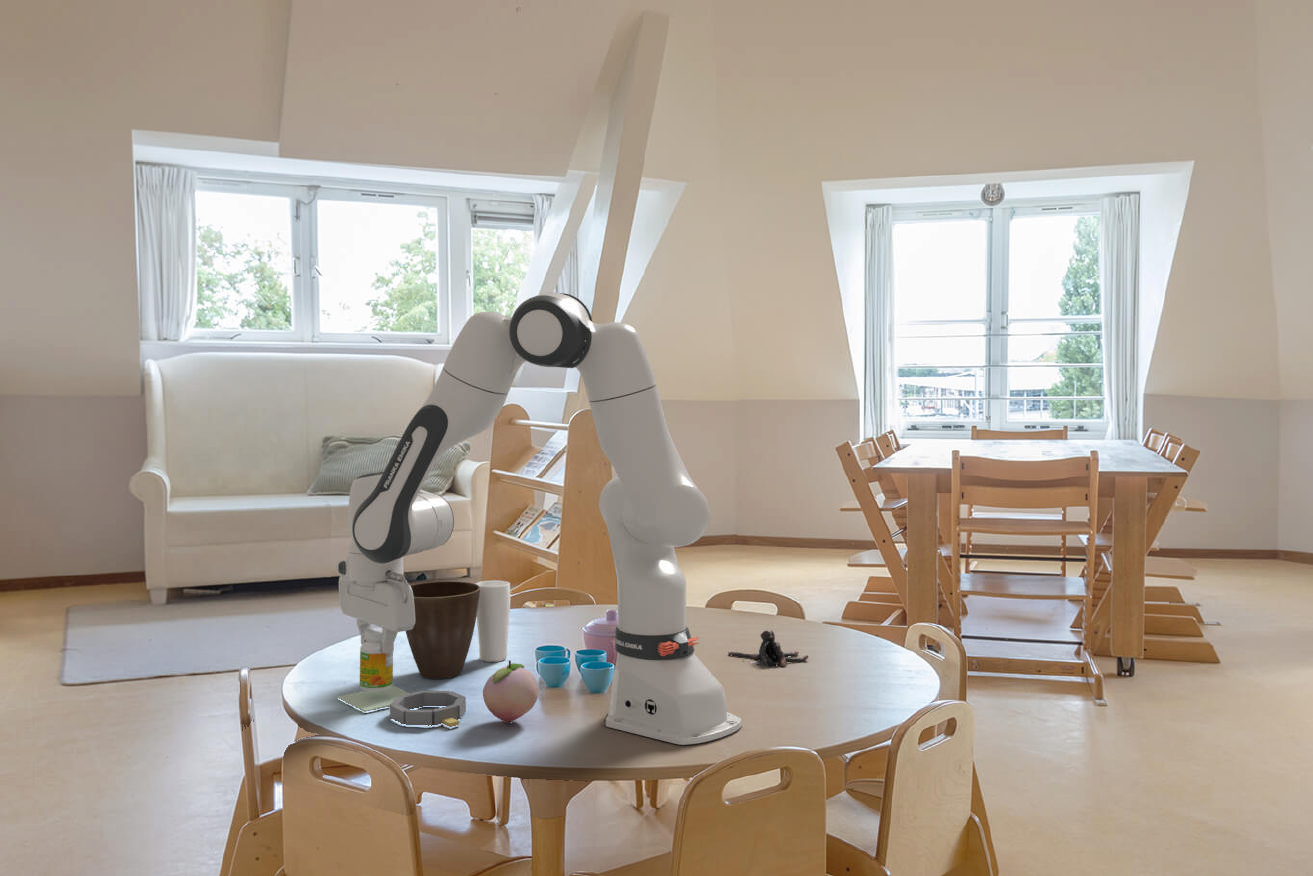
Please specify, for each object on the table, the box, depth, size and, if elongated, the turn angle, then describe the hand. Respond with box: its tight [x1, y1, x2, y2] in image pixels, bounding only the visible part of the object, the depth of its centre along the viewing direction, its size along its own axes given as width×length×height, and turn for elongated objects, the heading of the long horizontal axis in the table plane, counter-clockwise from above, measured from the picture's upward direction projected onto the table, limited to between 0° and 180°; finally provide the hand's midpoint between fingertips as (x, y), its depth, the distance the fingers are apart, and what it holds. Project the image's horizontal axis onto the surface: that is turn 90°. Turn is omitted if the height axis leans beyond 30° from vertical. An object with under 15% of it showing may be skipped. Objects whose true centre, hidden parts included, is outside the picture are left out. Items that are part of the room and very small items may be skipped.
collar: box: [389, 690, 467, 727], centre depth 159 cm, size 16×11×2 cm
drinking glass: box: [475, 579, 511, 663], centre depth 194 cm, size 7×7×15 cm
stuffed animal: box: [727, 629, 809, 668], centre depth 194 cm, size 12×10×12 cm
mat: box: [337, 685, 410, 712], centre depth 168 cm, size 10×10×1 cm
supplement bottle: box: [359, 627, 394, 691], centre depth 167 cm, size 5×5×10 cm
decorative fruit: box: [482, 660, 539, 724], centre depth 156 cm, size 9×8×10 cm
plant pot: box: [405, 580, 480, 680], centre depth 183 cm, size 15×15×16 cm
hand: (377, 649), depth 167 cm, fingers closed on supplement bottle, 5 cm apart
